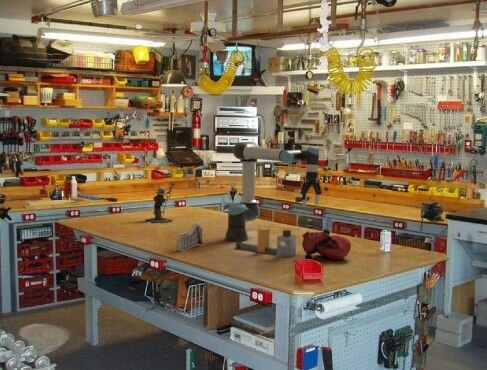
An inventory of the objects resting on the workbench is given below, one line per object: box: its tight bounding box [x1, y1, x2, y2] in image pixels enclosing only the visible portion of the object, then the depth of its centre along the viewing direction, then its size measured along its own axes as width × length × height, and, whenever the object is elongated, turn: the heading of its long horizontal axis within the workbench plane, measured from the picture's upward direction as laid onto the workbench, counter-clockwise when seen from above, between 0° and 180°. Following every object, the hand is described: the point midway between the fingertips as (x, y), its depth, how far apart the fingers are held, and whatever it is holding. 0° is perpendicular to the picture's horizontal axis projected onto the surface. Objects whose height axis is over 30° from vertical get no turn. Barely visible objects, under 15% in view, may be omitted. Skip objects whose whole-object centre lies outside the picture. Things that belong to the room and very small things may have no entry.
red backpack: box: [301, 228, 352, 260], centre depth 354 cm, size 24×20×30 cm
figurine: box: [144, 182, 176, 224], centre depth 475 cm, size 23×23×30 cm
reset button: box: [282, 229, 292, 237], centre depth 361 cm, size 3×3×6 cm
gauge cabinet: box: [276, 233, 297, 259], centre depth 362 cm, size 7×10×12 cm
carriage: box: [257, 227, 271, 254], centre depth 371 cm, size 5×6×14 cm
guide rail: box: [234, 241, 277, 256], centre depth 373 cm, size 31×5×4 cm, turn 56°
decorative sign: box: [176, 223, 204, 252], centre depth 377 cm, size 23×3×15 cm, turn 149°
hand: (310, 205), depth 388 cm, fingers open, 13 cm apart
